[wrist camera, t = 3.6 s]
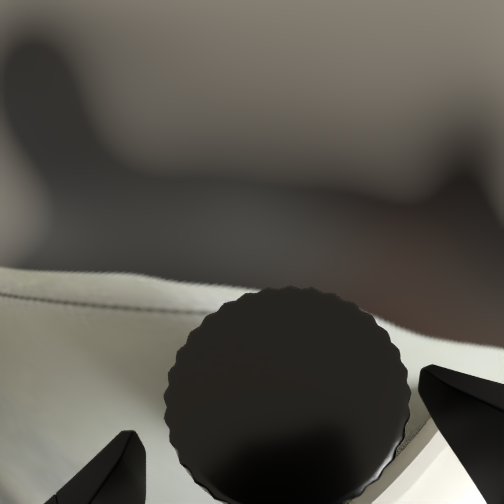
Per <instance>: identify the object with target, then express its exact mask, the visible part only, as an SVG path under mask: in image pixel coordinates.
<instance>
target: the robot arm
mask: <svg viewBox="0 0 504 504" xmlns="http://www.w3.org/2000/svg"><path fill="white" fill-rule="evenodd" d="M418 392H419V395H420V397H421V398H422V400H423V402H424V404H425V406H426V408H427V410H428V412H429V414H430V415H431V417H432V419H433V421H434V423H435V425H436V427H437V428H438V430H439V431H440V433H441V434H442V436H443V437H444V439H445V440H446V442H447V443H448V445H449V446H450V448H451V449H452V451H453V452H454V454H455V455H456V457H457V458H458V460H459V461H460V463H461V464H462V466H463V467H464V469H465V470H466V472H467V473H468V475H469V476H470V478H471V479H472V481H473V483H474V484H475V486H476V487H477V489H478V490H479V492H480V494H481V495H482V497H483V498H484V500H485V501H486V503H487V504H504V384H501V383H498V382H494V381H490V380H486V379H483V378H479V377H475V376H472V375H468V374H465V373H461V372H458V371H454V370H451V369H447V368H444V367H440V366H437V365H433V364H431V365H428V366H426V367H423V368H422V369H421V371H420V376H419V384H418ZM145 500H146V451H145V448H144V446H143V444H142V442H141V440H140V438H139V436H138V435H137V433H136V432H135V431H134V430H124V431H121V432H120V433H119V434H118V435H117V436H116V437H115V438H114V439H113V440H112V441H111V442H110V443H109V444H108V445H107V446H106V447H105V448H103V449H102V450H101V451H100V452H99V453H98V454H97V455H96V456H95V457H94V458H93V459H92V460H91V461H90V462H89V463H88V464H87V465H86V466H85V467H83V468H82V469H81V470H80V471H79V472H78V473H77V474H76V475H75V476H74V477H73V478H72V479H71V480H70V481H68V482H67V483H66V484H65V485H64V486H63V487H62V488H61V489H60V490H59V491H58V492H57V493H56V495H55V494H54V495H53V496H52V497H51V498H50V499H49V500H48V501H46V502H45V503H44V504H145Z"/></svg>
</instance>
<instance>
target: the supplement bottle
mask: <svg viewBox="0 0 504 504" xmlns="http://www.w3.org/2000/svg"><path fill="white" fill-rule="evenodd" d="M407 377H408V370H407V369H406V367H405V366H404V364H403V363H402V362H401V359H400V351H399V349H398V348H397V347H396V346H395V345H394V344H393V343H392V342H391V340H390V337H389V334H388V332H387V331H386V330H385V329H383V328H382V327H380V326H378V325H377V323H376V321H375V319H374V318H373V316H372V315H370V314H368V313H365V312H363V311H361V310H360V309H359V307H358V306H357V305H356V304H355V303H354V302H350V301H345V300H342V299H341V298H340V297H339V296H337V295H336V294H335V293H322V292H320V291H319V290H317V289H315V288H313V287H311V288H304V289H299V288H296V287H294V286H287V287H283V288H281V289H275V288H268V287H267V288H265V289H263V290H261V291H260V292H258V293H245V294H244V295H242V296H241V297H240V298H239V299H237V300H236V301H230V302H226V303H224V304H223V305H222V306H221V307H220V309H219V310H218V311H217V312H215V313H212V314H209V315H207V316H206V317H205V318H204V320H203V322H202V324H201V325H200V326H199V327H198V328H196V329H194V330H193V331H191V332H190V333H189V336H188V339H187V342H186V344H185V345H184V346H183V347H181V348H180V349H179V350H178V351H177V355H176V363H175V365H174V366H173V367H172V368H171V370H170V371H169V372H168V381H169V386H168V388H167V389H166V391H165V393H164V400H165V403H166V406H167V408H166V411H165V416H164V420H165V422H166V424H167V426H168V427H169V429H170V434H169V439H170V443H171V444H172V446H173V447H174V448H175V451H176V453H177V455H178V457H179V461H180V464H181V465H182V466H183V467H184V468H185V469H186V471H187V472H188V474H189V475H190V476H191V477H192V479H193V480H194V482H195V483H196V484H198V485H199V486H200V487H201V488H202V489H203V490H204V491H206V492H207V493H208V494H210V495H211V496H212V497H213V498H214V499H216V500H218V501H220V502H222V503H223V504H345V503H346V502H347V501H348V500H350V499H354V498H357V497H359V496H361V495H362V494H363V492H364V491H365V489H366V488H367V487H368V486H369V485H371V484H373V483H375V482H376V481H378V480H379V479H380V477H381V475H382V473H383V470H384V468H385V467H387V466H388V465H389V464H390V463H391V462H392V461H393V460H394V459H395V455H396V449H397V447H398V446H399V445H400V444H401V443H402V441H403V440H404V438H405V425H406V423H407V422H408V419H409V417H410V410H409V407H408V403H409V400H410V396H411V390H410V387H409V386H408V384H407Z"/></svg>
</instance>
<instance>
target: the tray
mask: <svg viewBox="0 0 504 504" xmlns="http://www.w3.org/2000/svg"><path fill="white" fill-rule="evenodd" d="M349 504H487V503H486V501H485V500H484V498H483V497H482V495H481V494H480V492H479V490H478V489H477V487H476V486H475V484H474V483H473V481H472V479H471V478H470V476H469V475H468V473H467V472H466V470H465V469H464V467H463V466H462V464H461V463H460V461H459V460H458V458H457V457H456V455H455V454H454V452H453V451H452V449H451V448H450V446H449V445H448V443H447V442H446V440H445V439H444V437H443V436H442V434H441V433H440V431H439V430H438V428H437V427H436V425H435V423H434V421H433V419H432V417H431V418H430V419H429V420H428V421H427V423H426V424H425V425H424V426H423V428H422V429H421V430H420V431H419V432H418V434H417V435H416V436H415V437H414V438H413V439H412V441H411V442H410V443H409V444H408V445H407V446H406V447H405V448H404V450H403V451H402V452H401V453H400V454H399V455H398V456H397V457H396V458H395V459H394V460H393V462H392V463H391V464H390V465H389V466H388V467H387V468H386V469H385V470H384V471H383V473H382V475H381V477H380V479H379V480H378V481H376V482H375V483H373V484H371V485H369V486H368V487H367V488H366V489H365V491H364V492H363V494H362V495H361V496H359V497H357V498H354V499H353V500H352V501H351V502H350V503H349Z"/></svg>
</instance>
